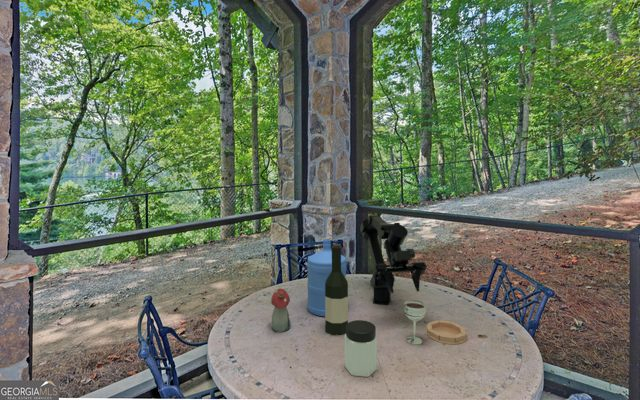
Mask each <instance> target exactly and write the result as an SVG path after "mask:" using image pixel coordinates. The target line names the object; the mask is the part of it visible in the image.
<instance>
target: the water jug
mask: <svg viewBox="0 0 640 400" xmlns="http://www.w3.org/2000/svg"><path fill="white" fill-rule="evenodd" d="M331 245H332V244H331V239H323V240H322V250H320V251H317V252H316V253H314V254H312V255H309V256H308V258H307V265H306V266H307V268H306V269H307V310H308V312H310V313H311V314H313V315H315V316H318V317H325V281H326V279H327V278H328V276H329V274H330V273H331V271H332V246H331ZM347 266H348V265H347V258H346V257H345V255H342V254H341V271H342V273H343V275H344V276H345V277H346V276H347Z"/></svg>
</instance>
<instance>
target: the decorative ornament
mask: <svg viewBox="0 0 640 400" xmlns="http://www.w3.org/2000/svg"><path fill="white" fill-rule="evenodd" d="M270 300H271V301H270V303H271V305H272V306H273V307H274V308H273V310H272V314H271V327H272V330H274V331H275V332H278V333H279V332H281V333H282V332H287V331H288V330H289V329H290V328H291V319H290V315H289V310H288V307H287V306H288V305H289V303H290V302H291V299H290V295H289V293H288V292H287V290H285V289H284V288H278V289H277V290H275V291H274V292H273V294H272V297H271V299H270Z"/></svg>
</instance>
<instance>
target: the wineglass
mask: <svg viewBox="0 0 640 400" xmlns="http://www.w3.org/2000/svg"><path fill="white" fill-rule="evenodd" d="M403 303H404V308H403V311H404V314H405V316H406V317H407V318H408V320H410V321H412V323H413V336H408V337H407V338H406V341H407V343H409V344H411V345H421V344H422V343H423V339H421V338H420V337H418V336H416V330H417V329H416V328H417V322H418V321H422V319H424V318H425V316H426V313H427V311H426V303H424V301H423V302H422V301H419V300H412V299H411V300H406V301H404V302H403Z"/></svg>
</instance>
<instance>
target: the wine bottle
mask: <svg viewBox="0 0 640 400" xmlns="http://www.w3.org/2000/svg"><path fill="white" fill-rule="evenodd" d="M331 250H332V271H331V273H330V274H329V276H328V278H327V279H326V281H325V316H324V317H325V319H324V322H325V326H324V327H325V328H324V329H325V330H324V331H325V333H327V334H328V335H332V336H344V335H345V334H346V325H347V324H348V323H349V283H348V280H347V278H346V276H344V275H343V273H342V271H341V255H342V247H341V245H340V243H332V246H331Z"/></svg>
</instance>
